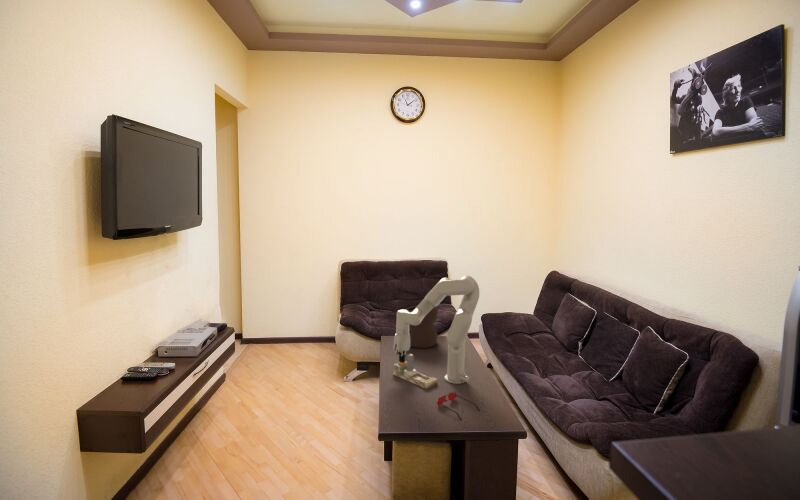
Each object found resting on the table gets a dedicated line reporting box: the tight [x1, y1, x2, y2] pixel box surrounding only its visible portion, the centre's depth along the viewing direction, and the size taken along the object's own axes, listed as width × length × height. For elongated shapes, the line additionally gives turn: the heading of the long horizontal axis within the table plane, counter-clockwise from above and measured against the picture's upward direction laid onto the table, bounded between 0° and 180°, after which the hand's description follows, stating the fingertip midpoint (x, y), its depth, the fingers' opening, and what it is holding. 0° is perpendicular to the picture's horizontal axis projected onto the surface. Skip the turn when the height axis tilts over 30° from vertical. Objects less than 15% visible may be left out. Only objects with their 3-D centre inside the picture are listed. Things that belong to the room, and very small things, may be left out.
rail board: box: [392, 360, 438, 390], centre depth 230 cm, size 26×9×6 cm, turn 44°
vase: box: [404, 304, 439, 349], centre depth 291 cm, size 27×27×30 cm
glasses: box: [435, 391, 481, 421], centre depth 197 cm, size 14×16×5 cm
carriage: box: [404, 353, 417, 376], centre depth 232 cm, size 5×5×12 cm
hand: (401, 361), depth 237 cm, fingers closed
